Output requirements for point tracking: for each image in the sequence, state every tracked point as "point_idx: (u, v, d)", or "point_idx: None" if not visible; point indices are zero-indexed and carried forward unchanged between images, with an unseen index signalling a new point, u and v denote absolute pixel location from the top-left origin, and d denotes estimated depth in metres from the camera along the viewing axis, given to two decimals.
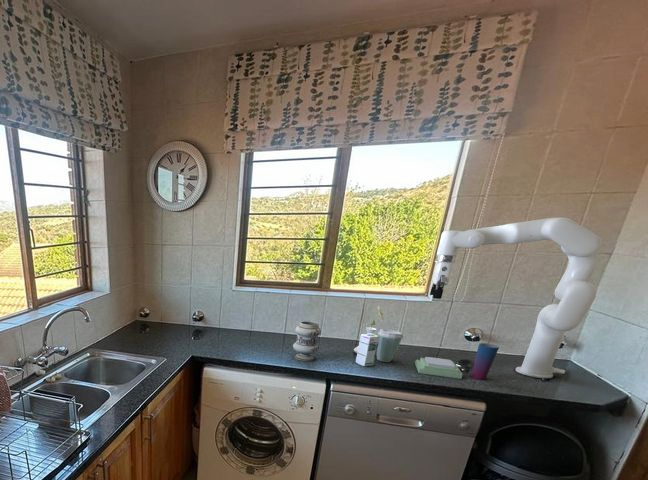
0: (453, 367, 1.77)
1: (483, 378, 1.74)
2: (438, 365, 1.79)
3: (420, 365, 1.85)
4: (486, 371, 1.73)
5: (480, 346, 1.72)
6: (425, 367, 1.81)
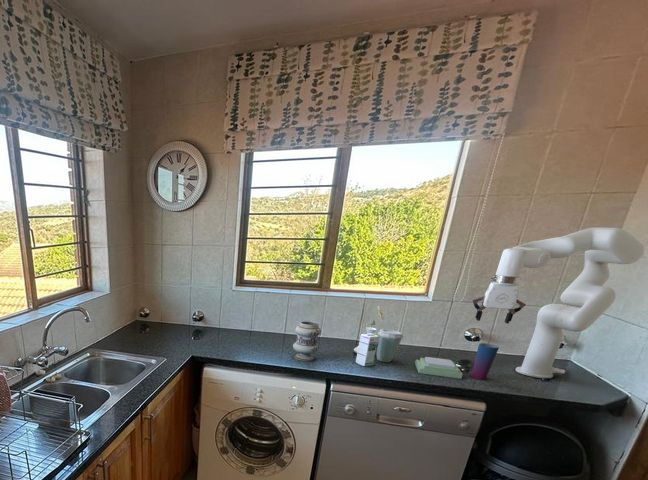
0: (453, 367, 1.77)
1: (483, 378, 1.74)
2: (438, 365, 1.79)
3: (420, 365, 1.85)
4: (486, 371, 1.73)
5: (480, 346, 1.72)
6: (425, 367, 1.81)
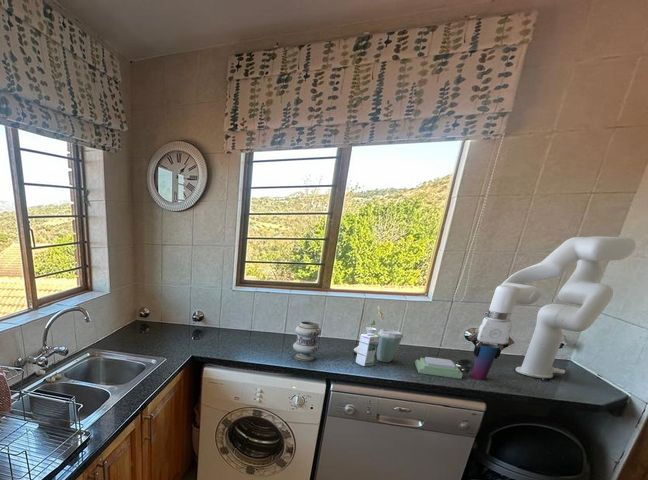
0: (453, 367, 1.77)
1: (483, 378, 1.74)
2: (438, 365, 1.79)
3: (420, 365, 1.85)
4: (486, 371, 1.73)
5: (480, 346, 1.72)
6: (425, 367, 1.81)
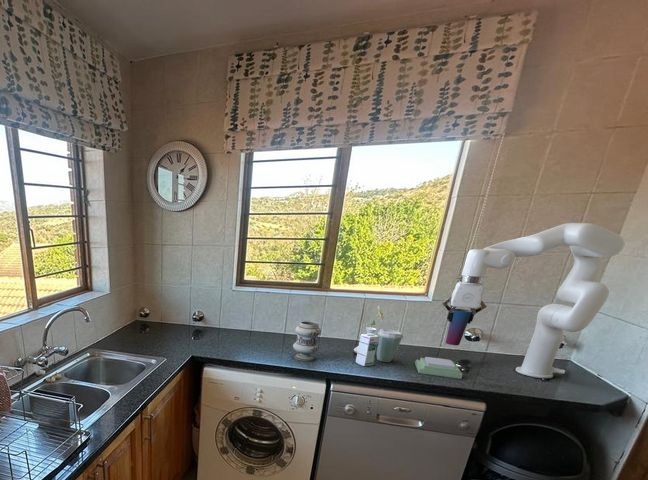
0: (453, 367, 1.77)
1: (457, 343, 1.76)
2: (438, 365, 1.79)
3: (420, 365, 1.85)
4: (459, 336, 1.74)
5: (453, 311, 1.73)
6: (425, 367, 1.81)
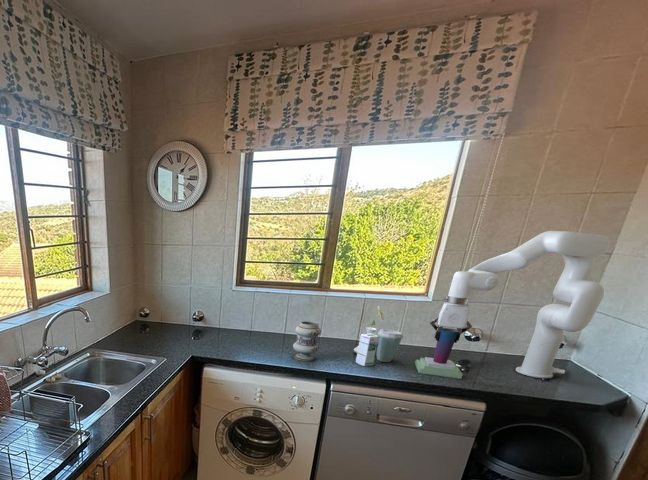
0: (453, 368, 1.77)
1: (444, 362, 1.80)
2: (438, 366, 1.79)
3: (420, 365, 1.85)
4: (446, 355, 1.79)
5: (440, 331, 1.78)
6: (425, 367, 1.81)
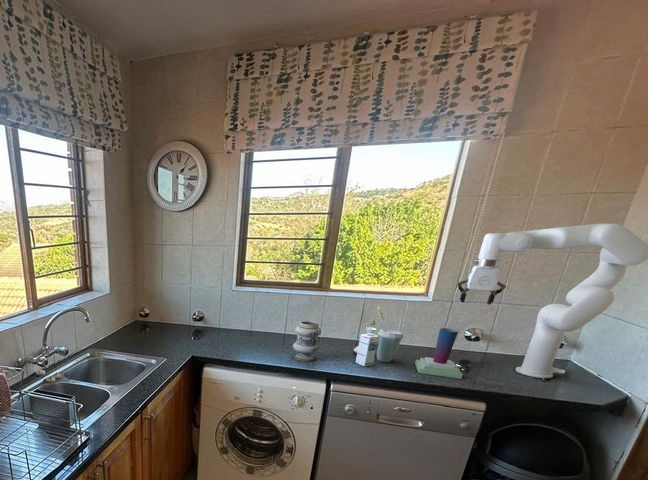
0: (453, 368, 1.77)
1: (444, 362, 1.80)
2: (438, 366, 1.79)
3: (420, 365, 1.85)
4: (446, 355, 1.79)
5: (440, 331, 1.78)
6: (425, 367, 1.81)
